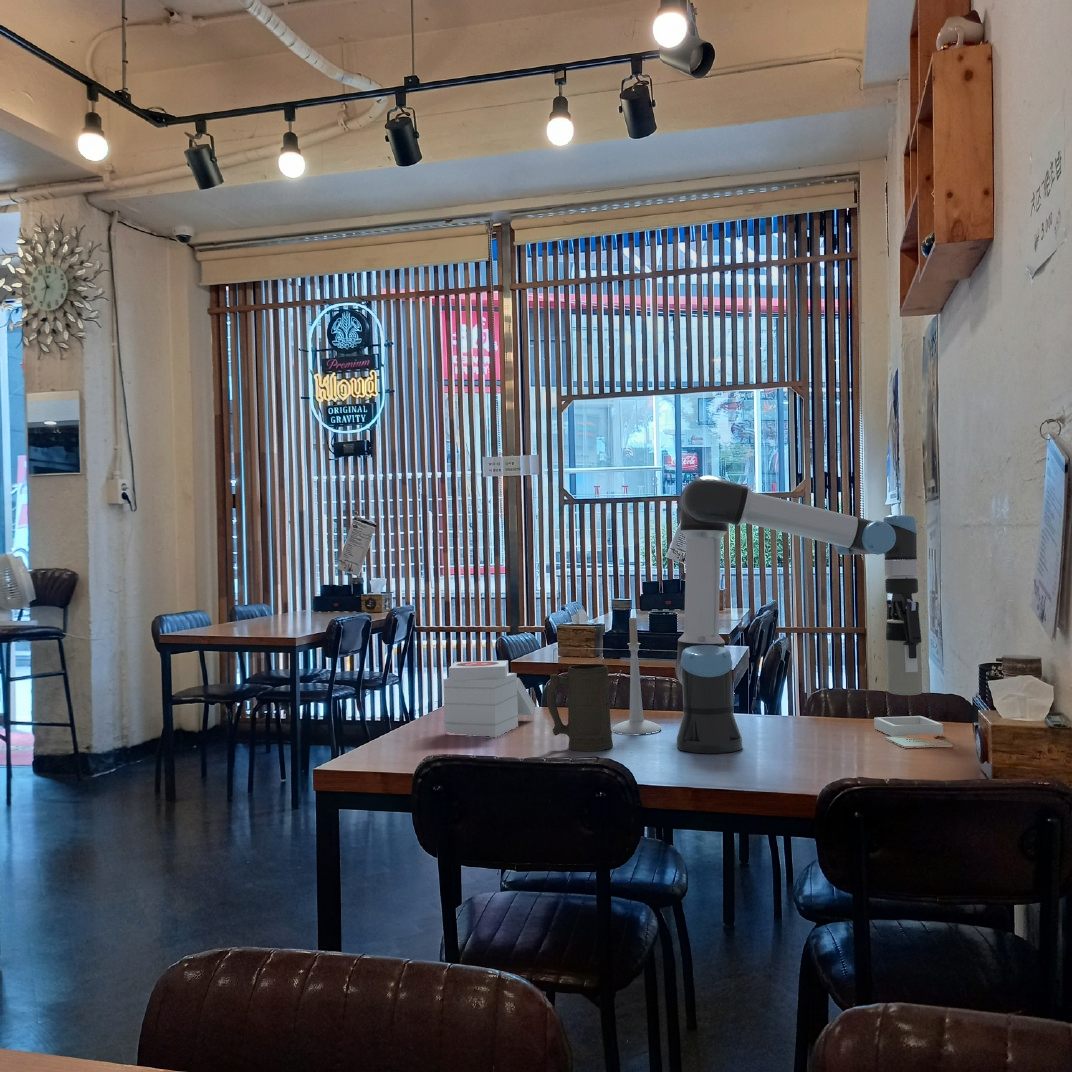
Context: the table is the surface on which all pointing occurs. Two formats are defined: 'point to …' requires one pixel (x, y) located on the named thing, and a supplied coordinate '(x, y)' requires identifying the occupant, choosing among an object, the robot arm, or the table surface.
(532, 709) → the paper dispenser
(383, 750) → the table surface
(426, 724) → the table surface
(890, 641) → the travel mug
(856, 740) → the table surface
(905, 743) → the mat
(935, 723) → the square grey tray
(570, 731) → the beer stein
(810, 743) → the table surface
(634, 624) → the candlestick
